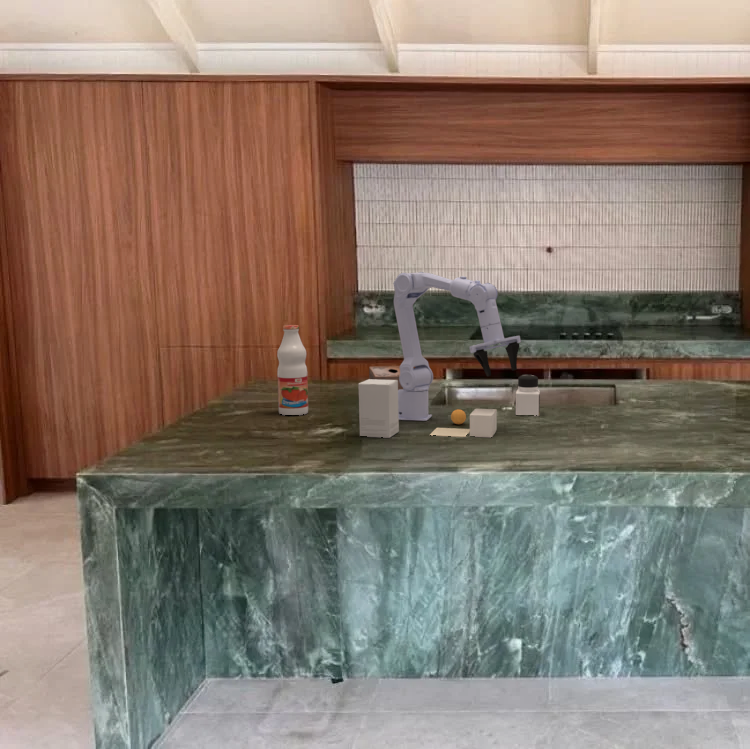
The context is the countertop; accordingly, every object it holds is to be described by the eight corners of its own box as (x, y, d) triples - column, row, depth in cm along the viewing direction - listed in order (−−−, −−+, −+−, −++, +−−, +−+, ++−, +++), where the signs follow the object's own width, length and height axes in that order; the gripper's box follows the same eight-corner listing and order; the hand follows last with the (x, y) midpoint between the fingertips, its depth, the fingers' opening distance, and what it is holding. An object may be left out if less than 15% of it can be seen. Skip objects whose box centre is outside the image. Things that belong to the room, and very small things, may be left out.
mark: (429, 435, 234) (429, 434, 234) (436, 428, 244) (436, 427, 244) (465, 437, 231) (465, 436, 231) (471, 429, 241) (471, 429, 241)
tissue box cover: (369, 394, 306) (369, 366, 305) (409, 392, 308) (409, 365, 306) (375, 406, 281) (375, 376, 280) (419, 405, 282) (418, 375, 281)
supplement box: (399, 432, 240) (399, 379, 238) (389, 438, 231) (389, 384, 229) (369, 430, 243) (368, 378, 241) (358, 436, 234) (357, 383, 232)
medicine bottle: (539, 416, 259) (539, 377, 257) (515, 415, 260) (515, 377, 259) (539, 412, 266) (540, 374, 264) (516, 411, 267) (516, 373, 266)
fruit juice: (303, 409, 276) (300, 323, 272) (312, 414, 267) (310, 325, 263) (275, 412, 272) (272, 325, 268) (283, 417, 263) (280, 327, 259)
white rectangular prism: (491, 437, 231) (491, 415, 230) (469, 436, 232) (469, 414, 231) (496, 430, 240) (496, 409, 239) (475, 429, 241) (475, 408, 241)
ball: (449, 425, 248) (449, 410, 247) (452, 422, 252) (452, 407, 251) (464, 426, 246) (464, 411, 246) (467, 423, 250) (467, 408, 250)
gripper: (470, 328, 232) (482, 377, 231) (519, 318, 235) (531, 366, 234) (463, 332, 239) (474, 379, 238) (510, 322, 242) (521, 368, 241)
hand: (501, 373), depth 237 cm, fingers open, 7 cm apart
